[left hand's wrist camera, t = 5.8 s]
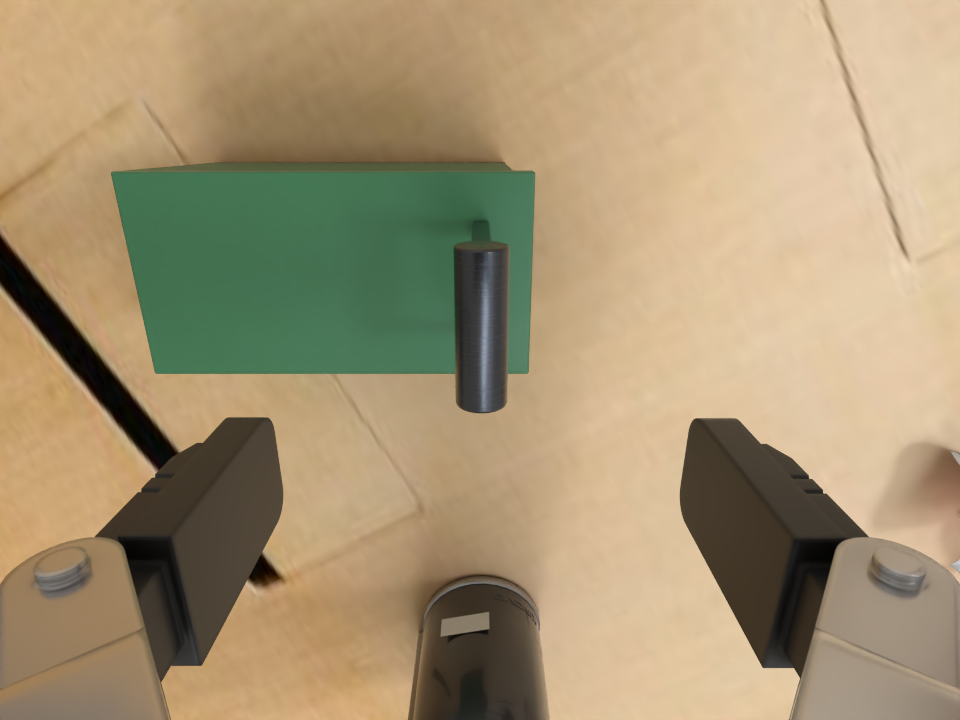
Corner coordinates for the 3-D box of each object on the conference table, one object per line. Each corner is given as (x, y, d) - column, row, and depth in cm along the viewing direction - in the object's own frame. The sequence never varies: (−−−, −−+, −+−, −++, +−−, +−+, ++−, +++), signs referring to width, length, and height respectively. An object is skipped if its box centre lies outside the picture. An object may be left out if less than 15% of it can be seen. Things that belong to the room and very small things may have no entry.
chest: (504, 162, 34) (513, 170, 25) (502, 311, 37) (509, 366, 28) (219, 162, 34) (124, 170, 25) (242, 311, 37) (166, 366, 28)
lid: (533, 170, 25) (560, 186, 16) (526, 366, 28) (547, 462, 20) (124, 170, 25) (-58, 186, 16) (165, 366, 28) (32, 462, 20)
